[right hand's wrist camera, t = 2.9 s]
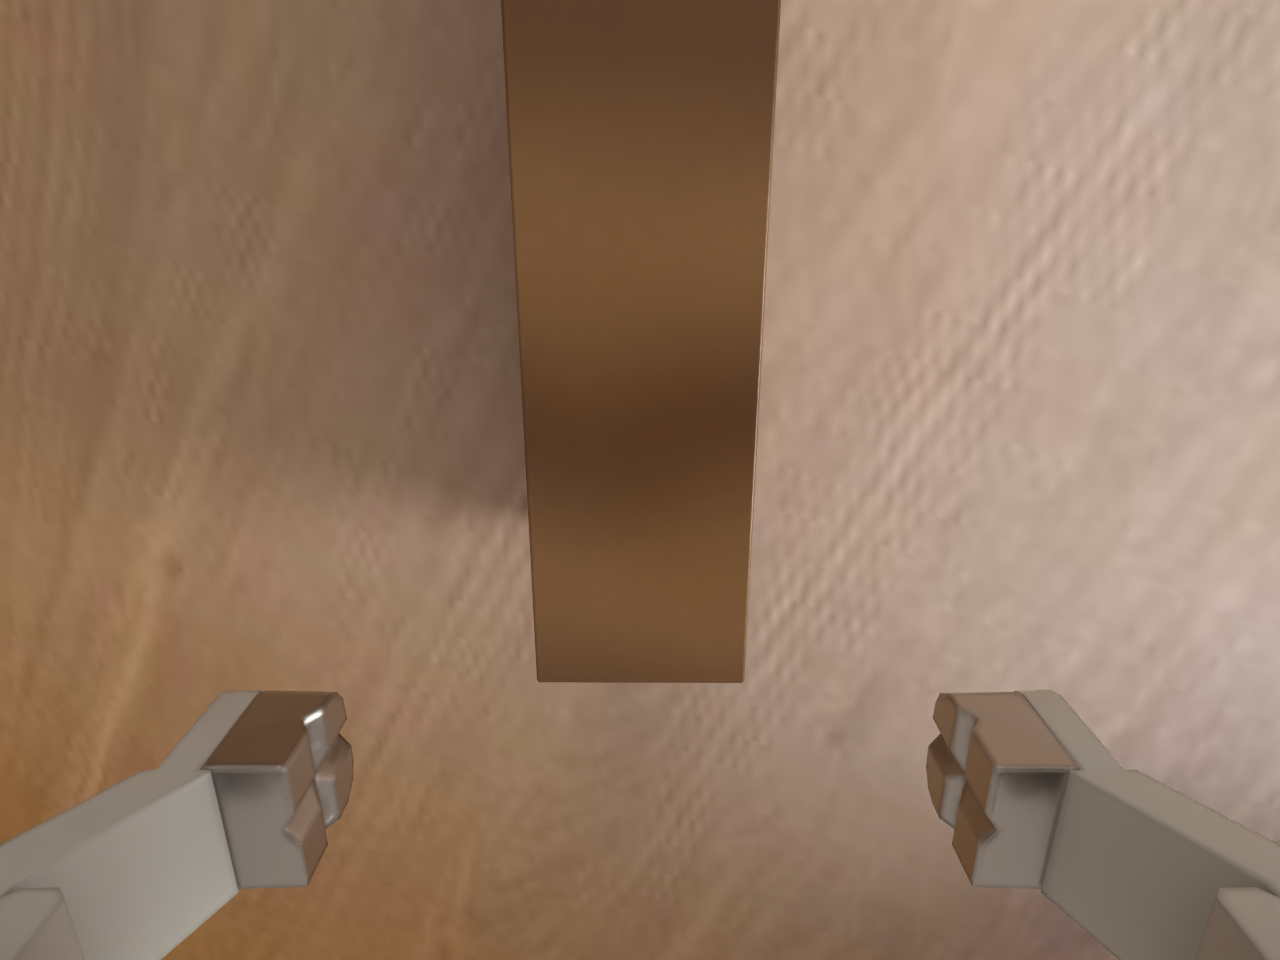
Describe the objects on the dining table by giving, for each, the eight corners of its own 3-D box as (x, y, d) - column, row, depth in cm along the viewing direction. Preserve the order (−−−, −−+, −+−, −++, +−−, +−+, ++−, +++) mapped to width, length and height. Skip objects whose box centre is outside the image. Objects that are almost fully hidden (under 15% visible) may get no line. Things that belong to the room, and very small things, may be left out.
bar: (711, 524, 27) (744, 683, 18) (571, 524, 27) (537, 683, 18) (748, -530, 18) (847, -1229, 9) (537, -530, 18) (435, -1225, 9)
